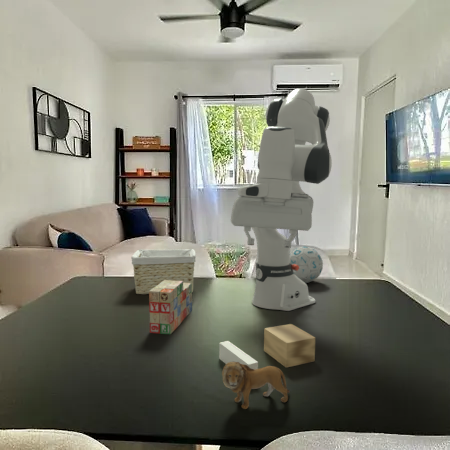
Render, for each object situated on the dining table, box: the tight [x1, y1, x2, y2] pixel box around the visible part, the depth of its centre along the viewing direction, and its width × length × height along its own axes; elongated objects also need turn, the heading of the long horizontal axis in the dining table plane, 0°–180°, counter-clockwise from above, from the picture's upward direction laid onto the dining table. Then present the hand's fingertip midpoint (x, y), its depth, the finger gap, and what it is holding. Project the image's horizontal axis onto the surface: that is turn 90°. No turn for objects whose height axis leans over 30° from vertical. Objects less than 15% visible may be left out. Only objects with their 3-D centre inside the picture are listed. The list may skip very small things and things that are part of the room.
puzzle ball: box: [290, 246, 324, 284], centre depth 168 cm, size 15×15×15 cm
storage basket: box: [131, 248, 197, 295], centre depth 156 cm, size 24×16×15 cm
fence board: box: [218, 340, 259, 369], centre depth 91 cm, size 2×13×4 cm, turn 29°
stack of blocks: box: [148, 280, 193, 335], centre depth 121 cm, size 21×6×12 cm, turn 168°
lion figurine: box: [221, 361, 291, 410], centre depth 77 cm, size 15×5×9 cm, turn 114°
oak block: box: [263, 323, 316, 368], centre depth 98 cm, size 8×10×6 cm
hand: (269, 246), depth 101 cm, fingers open, 8 cm apart
